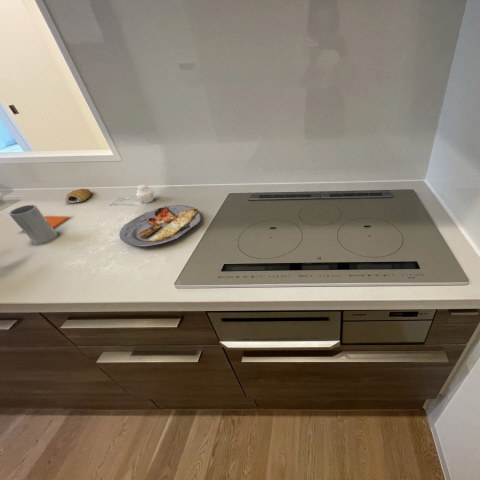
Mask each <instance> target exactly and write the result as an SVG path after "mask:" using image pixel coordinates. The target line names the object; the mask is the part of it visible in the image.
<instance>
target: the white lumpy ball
mask: <svg viewBox="0 0 480 480" xmlns="http://www.w3.org/2000/svg"><path fill="white" fill-rule="evenodd" d="M135 196H136V197H137V198H138V199H139V200H141V201H142V202H143V203H145V204H147V203H152V202H153V201H154V197H155V190H154V189H152V188H150V187H149V186H148V185H147V184H140V185H138V186H137V191H136V194H135Z"/></svg>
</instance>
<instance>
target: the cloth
mask: <svg viewBox="0 0 480 480" xmlns="http://www.w3.org/2000/svg"><path fill="white" fill-rule="evenodd" d="M44 217H45V219H46V220H47V221H48V222H49V224H50V225H51V226H52V228H53V229H55V228H56V227H58V226H59V225H61V224H62V223H64V222H66V221H67V220H68V219H70V217H69V216H48V215H47V216H45V215H44ZM21 231H22V232H23V233H25V232H24V231H23V230H22V229H21Z"/></svg>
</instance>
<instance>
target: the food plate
mask: <svg viewBox="0 0 480 480" xmlns="http://www.w3.org/2000/svg"><path fill="white" fill-rule="evenodd" d="M201 220H202V215H201V211H200V210H199V209H198V208H195V207H193V206H189V205H184V204H178V205H167V206H166V205H164V206H162V207H159V208H155V209H152V210H150V211H146V212H144V213H142V214H140V215H138V216H137V217H135V218H134V219H132V220H130V221H128V222H127V223H125V224H124V225H123V226H122V227H121V229H120V230H119V234H118V235H119V239H120V240H121V241H122V242H124V243H125V244H128V245H132V246H137V247H149V246H157V245H161V244H165V243H167V242H171V241H174V240H175V239H179V238H180V237H181V236H183V235H184V234H186V233H187V232H188V231H190V230H191V229H192V228H194V227H195V226H196V225H197V224H199V223H200V222H201Z"/></svg>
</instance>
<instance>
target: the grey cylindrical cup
mask: <svg viewBox="0 0 480 480" xmlns="http://www.w3.org/2000/svg"><path fill="white" fill-rule="evenodd" d="M8 215H9V216H10V218H12V220H13V221H14V222H15V223H16V224H17V225H18V227H19V228H20V229H21V231H22V230H23V231H24V232H23V231H22V232H23V233H24V234H25V235H26V236H27V237H28V238H29V240H30V241H31V242H32V243H33V244H35V245H43V244H46V243H49V242H52V241H53V240H55V239H56V238H57V237H58V233H57V232H56V230H55V228H52V226H51V225H50V224H49V222H48V221H47V220H46V219H45V215H43V213H42V212H41V211H40V209H39V208H38V206H36V204H35V205H34V204H27V205H22V206H19V207H16V208H14V209H12V210H10V212H8Z"/></svg>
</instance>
